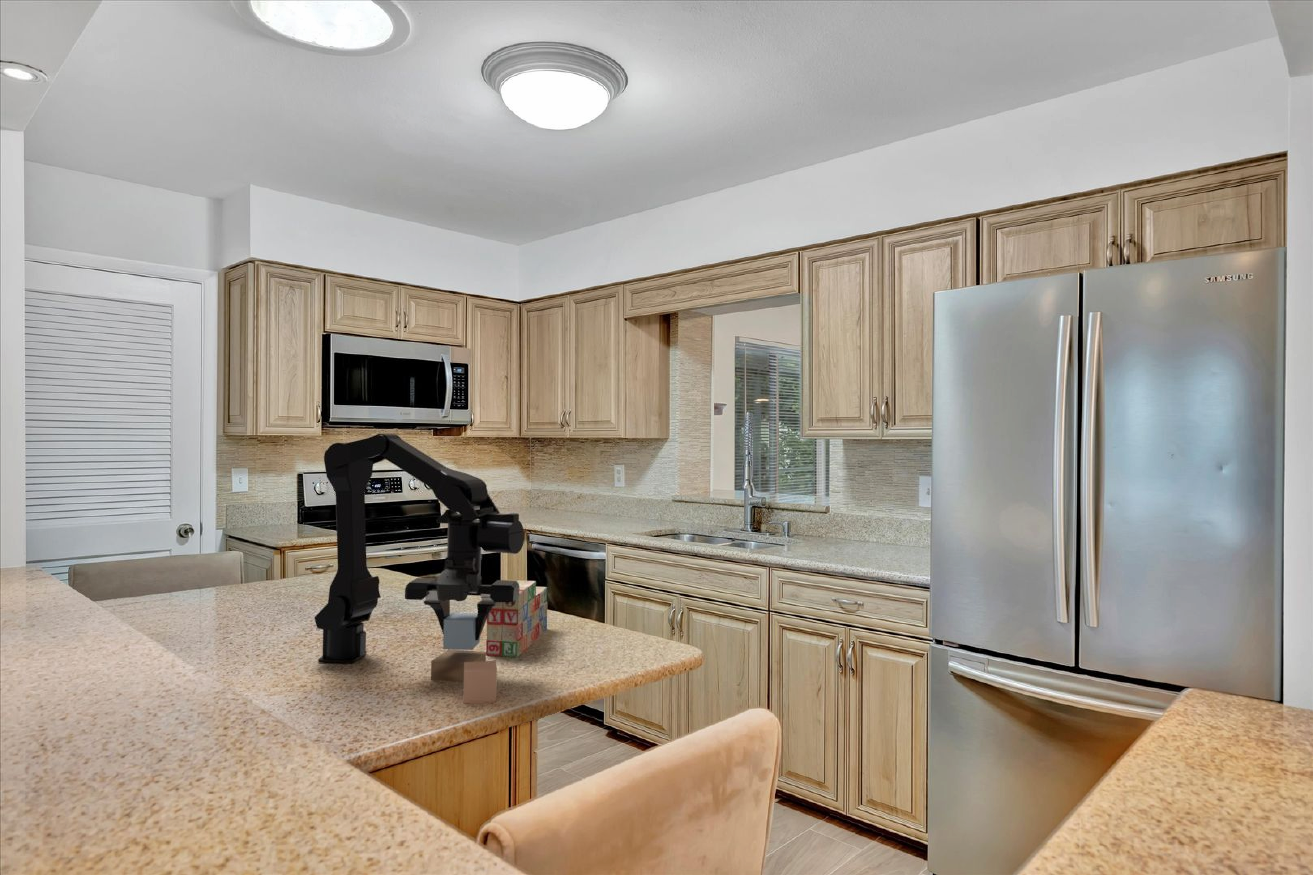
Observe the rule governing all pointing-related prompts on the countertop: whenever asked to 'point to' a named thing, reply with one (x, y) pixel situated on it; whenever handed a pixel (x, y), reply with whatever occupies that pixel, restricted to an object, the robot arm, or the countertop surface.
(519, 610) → the stack of blocks
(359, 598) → the robot arm
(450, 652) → the walnut slab
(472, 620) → the slate cube
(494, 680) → the terracotta cube
